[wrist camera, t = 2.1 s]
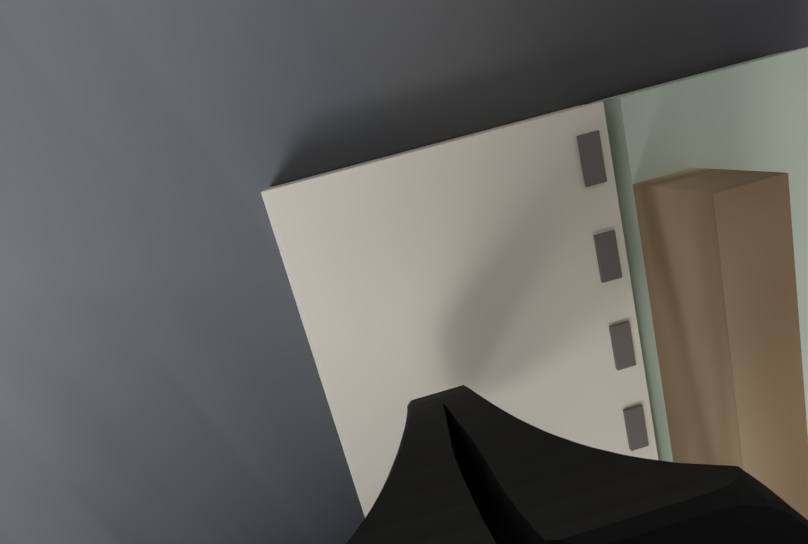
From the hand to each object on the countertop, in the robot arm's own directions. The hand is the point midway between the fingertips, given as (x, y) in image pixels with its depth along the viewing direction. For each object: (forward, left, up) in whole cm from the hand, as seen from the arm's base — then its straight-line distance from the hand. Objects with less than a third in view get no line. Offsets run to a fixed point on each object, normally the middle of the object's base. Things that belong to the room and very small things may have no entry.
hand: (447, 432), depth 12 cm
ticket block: (+1, 0, -3) cm, 4 cm away
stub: (+8, 0, -3) cm, 9 cm away
